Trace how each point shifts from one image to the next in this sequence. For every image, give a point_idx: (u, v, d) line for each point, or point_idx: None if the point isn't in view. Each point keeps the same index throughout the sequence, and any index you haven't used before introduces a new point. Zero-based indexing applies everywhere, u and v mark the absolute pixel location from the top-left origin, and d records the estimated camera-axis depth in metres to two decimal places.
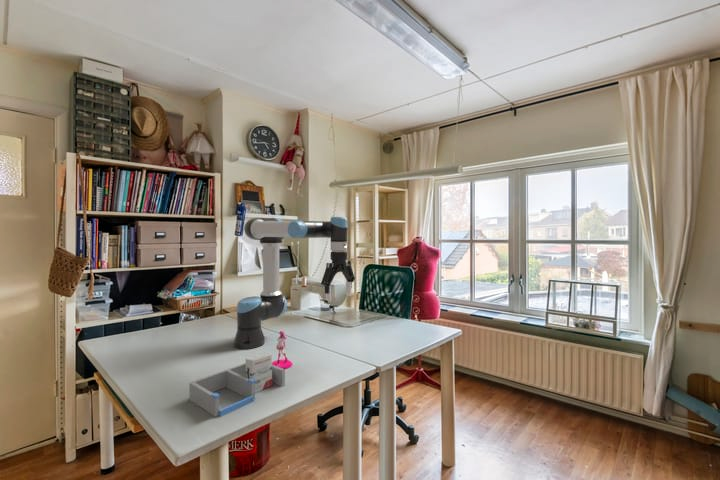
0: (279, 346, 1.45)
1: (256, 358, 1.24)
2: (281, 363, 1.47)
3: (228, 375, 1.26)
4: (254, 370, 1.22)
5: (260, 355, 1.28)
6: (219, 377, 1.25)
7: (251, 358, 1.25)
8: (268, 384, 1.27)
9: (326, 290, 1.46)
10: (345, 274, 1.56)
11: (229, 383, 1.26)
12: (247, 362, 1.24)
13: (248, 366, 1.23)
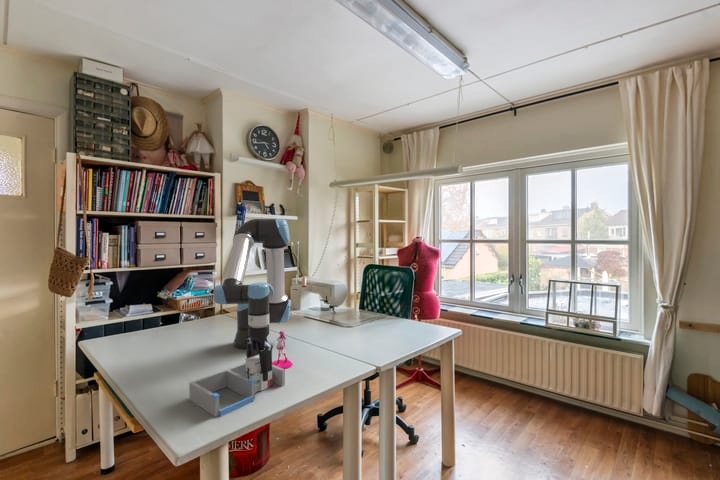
0: (279, 346, 1.45)
1: (256, 358, 1.24)
2: (281, 363, 1.47)
3: (228, 375, 1.26)
4: (254, 370, 1.22)
5: None
6: (219, 377, 1.25)
7: (251, 358, 1.25)
8: (268, 384, 1.27)
9: None
10: None
11: (229, 383, 1.26)
12: (247, 362, 1.24)
13: (248, 366, 1.23)
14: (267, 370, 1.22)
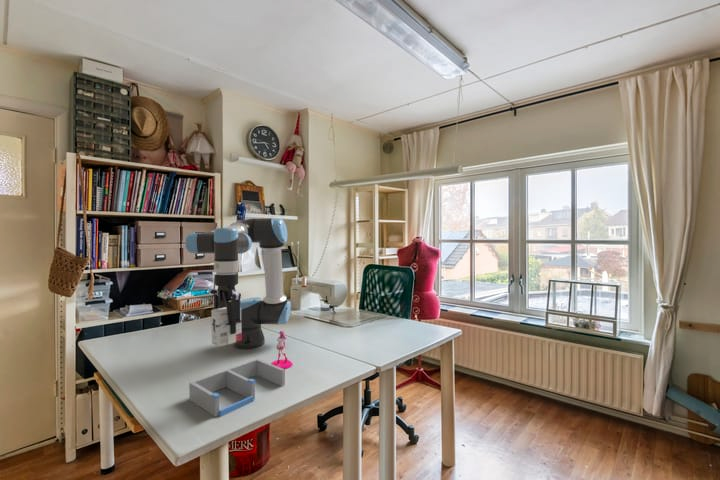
0: (279, 346, 1.45)
1: (223, 309, 1.13)
2: (281, 363, 1.47)
3: (228, 375, 1.26)
4: (220, 321, 1.11)
5: None
6: (219, 377, 1.25)
7: (218, 309, 1.14)
8: (237, 338, 1.16)
9: None
10: None
11: (229, 383, 1.26)
12: (213, 313, 1.13)
13: (214, 317, 1.12)
14: (234, 321, 1.11)
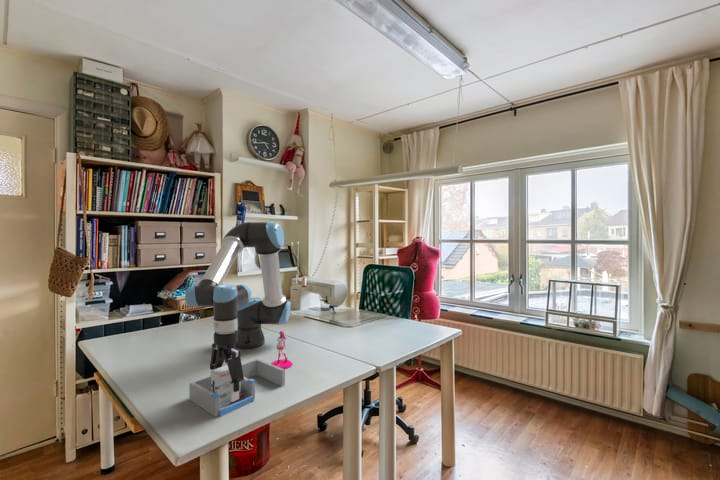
0: (279, 346, 1.45)
1: (222, 370, 1.14)
2: (281, 363, 1.47)
3: None
4: (219, 383, 1.12)
5: (227, 366, 1.17)
6: None
7: (217, 370, 1.14)
8: None
9: None
10: None
11: None
12: (212, 374, 1.13)
13: (213, 379, 1.13)
14: (238, 379, 1.10)
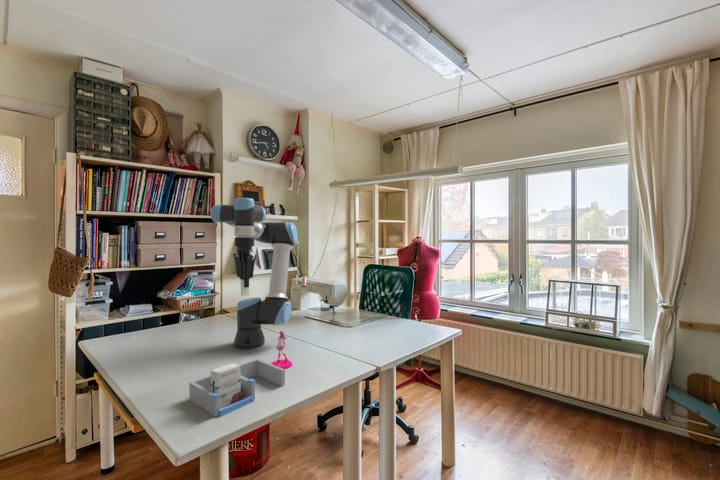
0: (279, 346, 1.45)
1: (222, 370, 1.14)
2: (281, 363, 1.47)
3: None
4: (219, 383, 1.12)
5: (227, 366, 1.17)
6: None
7: (217, 370, 1.14)
8: (236, 397, 1.17)
9: None
10: None
11: None
12: (212, 374, 1.13)
13: (213, 379, 1.13)
14: (248, 276, 1.34)
